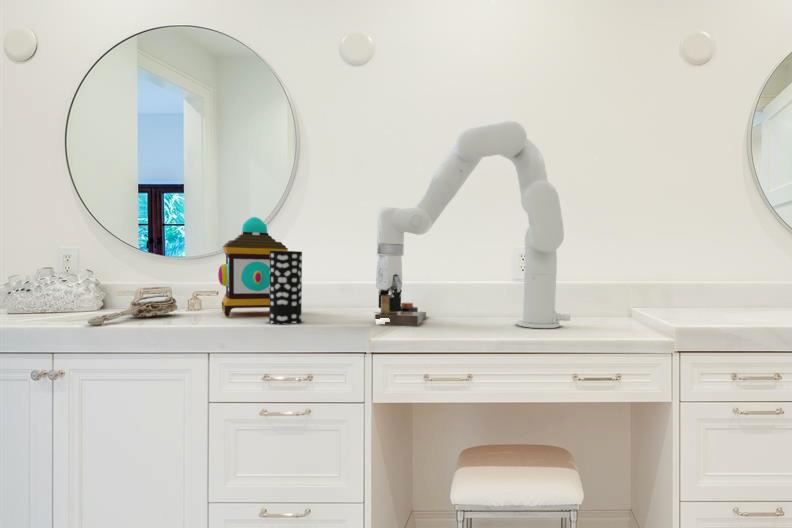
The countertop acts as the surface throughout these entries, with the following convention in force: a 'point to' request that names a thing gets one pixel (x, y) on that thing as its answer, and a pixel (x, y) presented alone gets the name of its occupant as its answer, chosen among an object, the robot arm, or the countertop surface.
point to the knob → (385, 304)
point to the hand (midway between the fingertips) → (389, 309)
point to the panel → (402, 318)
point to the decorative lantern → (248, 267)
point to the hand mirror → (141, 308)
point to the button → (406, 305)
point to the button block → (414, 309)
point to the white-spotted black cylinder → (285, 287)
